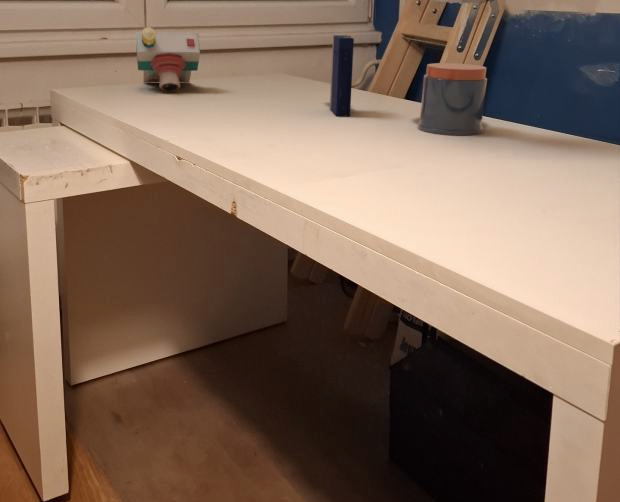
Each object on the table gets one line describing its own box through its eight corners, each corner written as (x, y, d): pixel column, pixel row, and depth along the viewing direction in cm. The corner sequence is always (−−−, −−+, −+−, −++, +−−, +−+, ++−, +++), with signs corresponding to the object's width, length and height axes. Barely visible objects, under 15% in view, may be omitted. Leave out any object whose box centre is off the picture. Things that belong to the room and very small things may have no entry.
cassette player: (350, 116, 122) (354, 36, 117) (336, 116, 122) (339, 36, 116) (343, 109, 129) (346, 33, 123) (329, 109, 128) (332, 32, 123)
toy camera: (140, 116, 151) (140, 72, 132) (136, 73, 152) (136, 22, 133) (196, 116, 154) (204, 72, 134) (192, 73, 154) (199, 23, 135)
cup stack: (469, 123, 119) (476, 63, 115) (492, 135, 111) (501, 70, 107) (409, 123, 118) (414, 62, 114) (428, 135, 109) (434, 69, 105)
